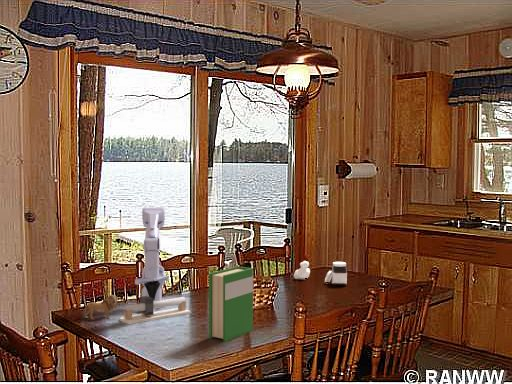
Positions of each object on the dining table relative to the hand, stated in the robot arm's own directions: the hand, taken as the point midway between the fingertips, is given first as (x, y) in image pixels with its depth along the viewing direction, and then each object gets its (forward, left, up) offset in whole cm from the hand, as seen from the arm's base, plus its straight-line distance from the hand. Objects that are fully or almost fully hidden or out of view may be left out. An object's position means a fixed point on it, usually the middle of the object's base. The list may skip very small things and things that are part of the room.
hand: (152, 299), depth 250 cm
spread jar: (-2, +109, -8) cm, 110 cm away
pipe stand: (0, +2, -7) cm, 8 cm away
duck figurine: (-23, +105, -8) cm, 108 cm away
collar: (0, -3, -5) cm, 6 cm away
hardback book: (+39, +12, -8) cm, 42 cm away
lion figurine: (-13, -17, -8) cm, 23 cm away
